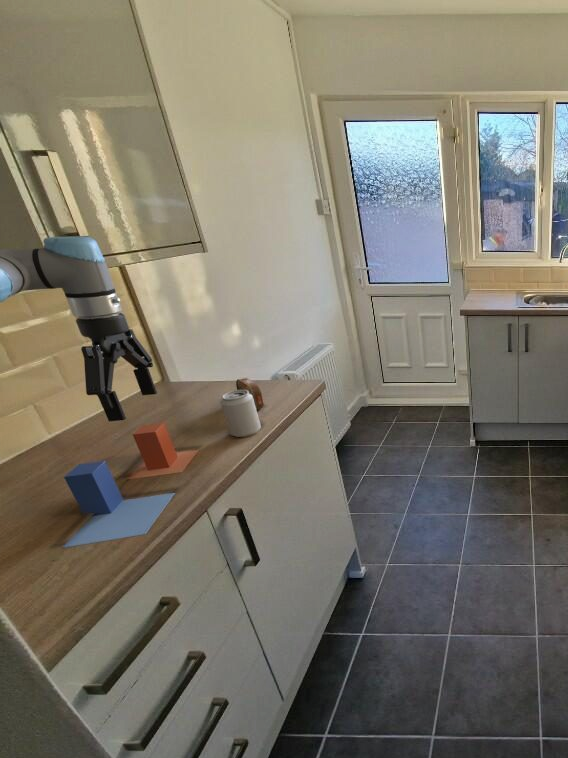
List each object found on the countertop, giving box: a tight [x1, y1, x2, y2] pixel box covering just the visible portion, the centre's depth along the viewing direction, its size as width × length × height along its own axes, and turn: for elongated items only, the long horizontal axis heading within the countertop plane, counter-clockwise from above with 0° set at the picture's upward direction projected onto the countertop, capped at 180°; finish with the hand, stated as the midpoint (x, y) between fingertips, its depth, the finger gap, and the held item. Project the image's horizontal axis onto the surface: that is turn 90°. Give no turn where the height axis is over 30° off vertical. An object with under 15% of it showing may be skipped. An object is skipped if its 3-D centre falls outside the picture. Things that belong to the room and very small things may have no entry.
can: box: [220, 389, 262, 438], centre depth 114 cm, size 8×8×12 cm
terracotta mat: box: [126, 449, 200, 481], centre depth 102 cm, size 12×10×1 cm
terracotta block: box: [132, 422, 178, 470], centre depth 100 cm, size 4×4×10 cm
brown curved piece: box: [235, 377, 265, 411], centre depth 130 cm, size 15×3×8 cm, turn 49°
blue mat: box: [61, 492, 176, 549], centre depth 84 cm, size 14×13×1 cm
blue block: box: [63, 460, 124, 516], centre depth 85 cm, size 4×4×10 cm
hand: (134, 406), depth 95 cm, fingers open, 13 cm apart
